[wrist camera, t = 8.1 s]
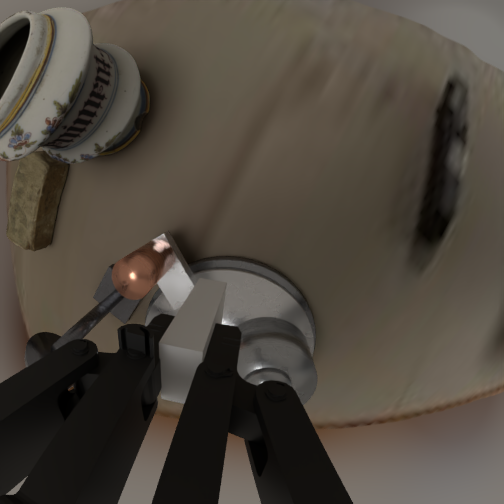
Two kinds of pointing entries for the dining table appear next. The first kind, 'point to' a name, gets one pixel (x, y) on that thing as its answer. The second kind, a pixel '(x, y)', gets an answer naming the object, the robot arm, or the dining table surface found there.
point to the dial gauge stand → (83, 320)
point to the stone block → (35, 200)
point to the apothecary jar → (65, 89)
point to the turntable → (183, 279)
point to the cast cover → (276, 355)
